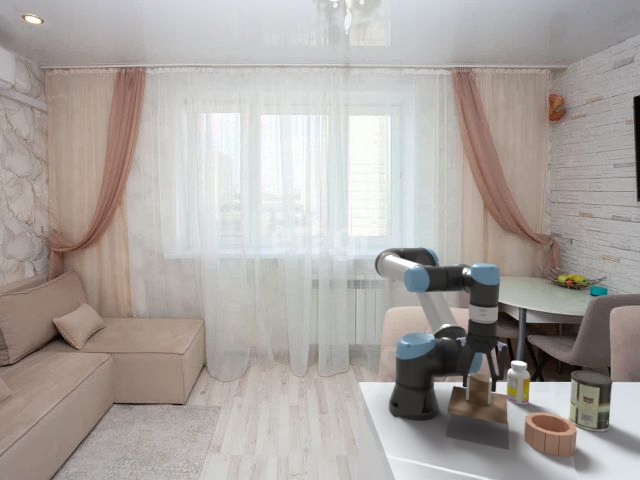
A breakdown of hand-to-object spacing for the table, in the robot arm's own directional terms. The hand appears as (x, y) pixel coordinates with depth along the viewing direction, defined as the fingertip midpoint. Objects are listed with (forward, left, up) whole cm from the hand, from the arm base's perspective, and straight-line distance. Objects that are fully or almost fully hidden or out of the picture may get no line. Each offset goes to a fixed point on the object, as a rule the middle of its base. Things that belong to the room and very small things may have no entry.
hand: (478, 399), depth 125 cm
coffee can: (+30, +18, -9) cm, 36 cm away
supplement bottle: (+11, +25, -9) cm, 29 cm away
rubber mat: (0, 0, -9) cm, 9 cm away
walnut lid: (0, 0, -2) cm, 2 cm away
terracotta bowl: (+18, 0, -9) cm, 20 cm away
